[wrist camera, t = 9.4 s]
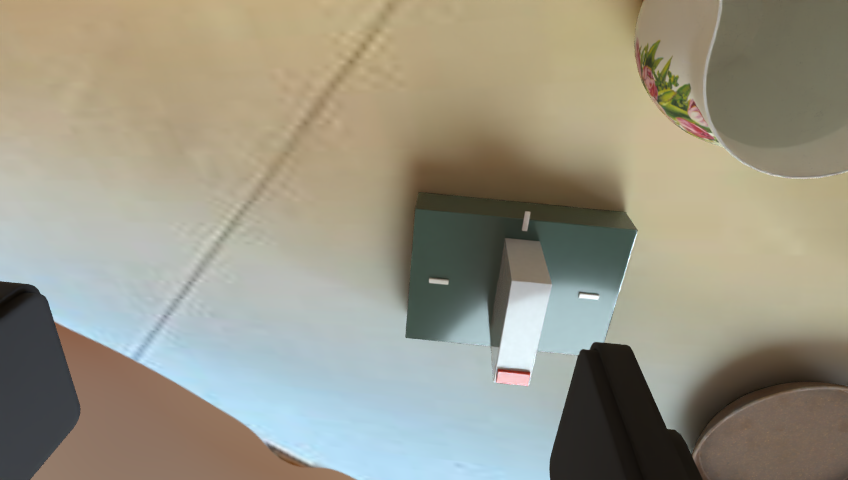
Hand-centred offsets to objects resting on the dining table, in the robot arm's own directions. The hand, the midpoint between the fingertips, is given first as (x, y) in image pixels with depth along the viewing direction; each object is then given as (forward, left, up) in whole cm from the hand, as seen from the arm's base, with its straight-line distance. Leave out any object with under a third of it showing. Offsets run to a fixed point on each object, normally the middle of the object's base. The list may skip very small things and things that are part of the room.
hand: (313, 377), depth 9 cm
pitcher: (+15, +10, -28) cm, 34 cm away
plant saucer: (+42, -15, -28) cm, 53 cm away
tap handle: (+12, -10, -25) cm, 30 cm away
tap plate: (+12, -10, -28) cm, 32 cm away
